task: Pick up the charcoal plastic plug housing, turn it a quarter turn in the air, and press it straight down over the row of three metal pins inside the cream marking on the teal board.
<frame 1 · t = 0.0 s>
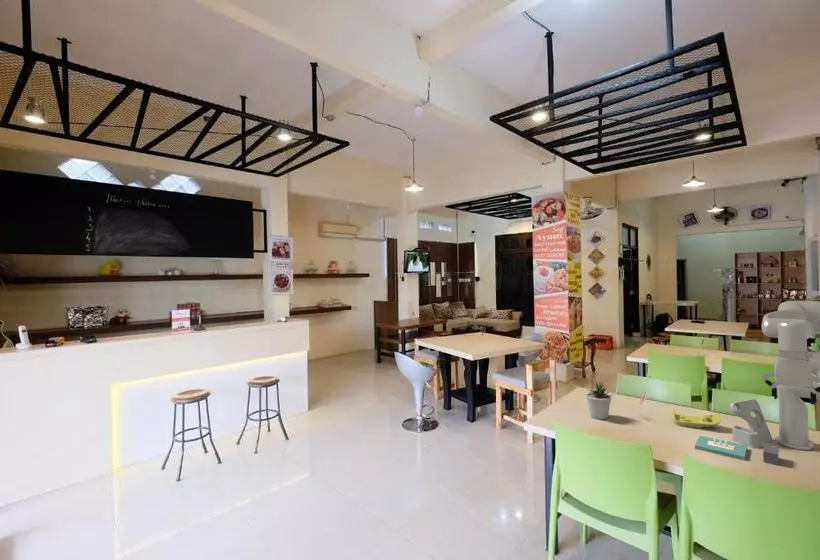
hand: (793, 401, 143), 31 cm above the table, tool pointing down, fingers open, 9 cm apart
plug housing: (771, 460, 162), on the table
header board: (720, 448, 174), on the table
potted plant: (600, 417, 216), on the table
plastic component: (696, 426, 200), on the table
phone holder: (754, 442, 180), on the table, touching arm
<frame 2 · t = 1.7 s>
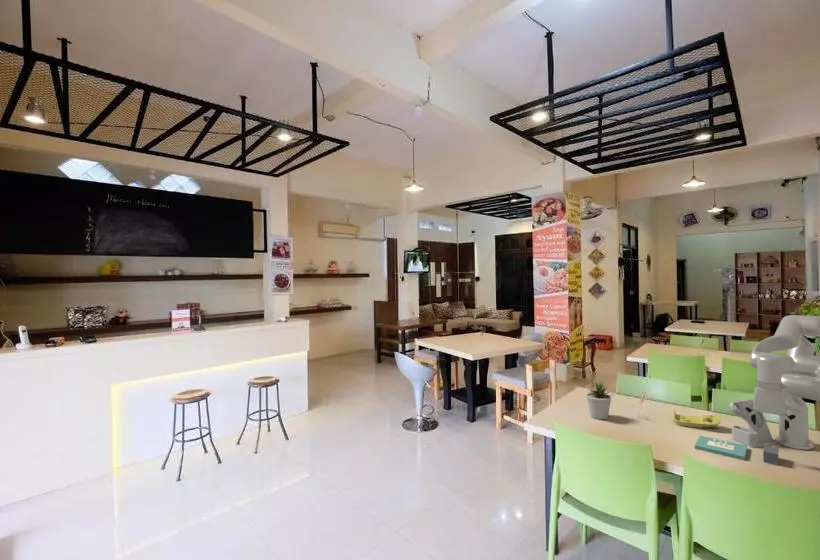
hand: (769, 426, 162), 14 cm above the table, tool pointing down, fingers open, 9 cm apart
nothing on the table moved.
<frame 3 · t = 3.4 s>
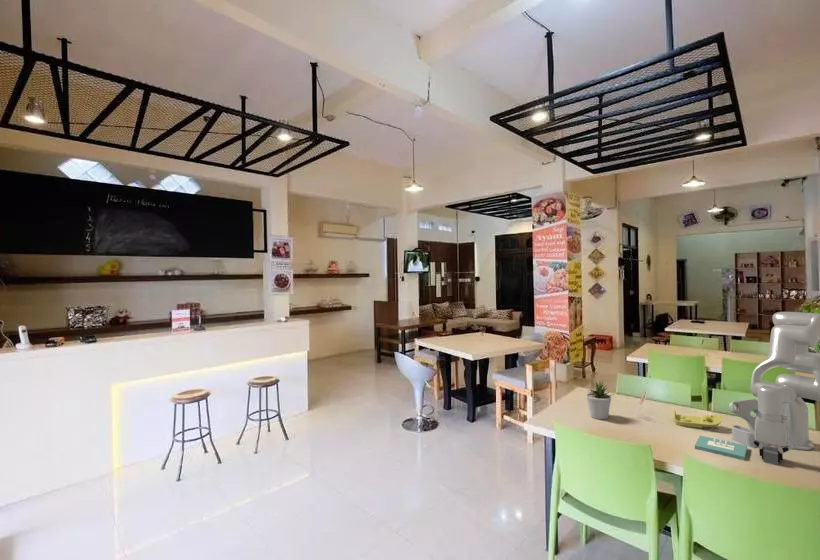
hand: (771, 459, 162), 0 cm above the table, tool pointing down, fingers closed on plug housing, 4 cm apart
plug housing: (771, 460, 162), on the table, touching gripper
everything else where it was.
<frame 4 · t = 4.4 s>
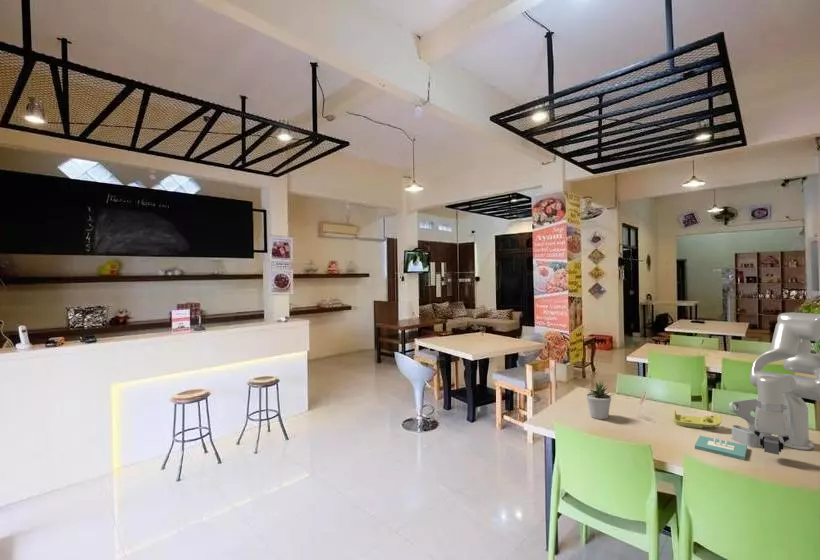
hand: (771, 448, 163), 5 cm above the table, tool pointing down, fingers closed on plug housing, 4 cm apart
plug housing: (771, 449, 163), point 4 cm above the table, touching gripper
everything else where it was.
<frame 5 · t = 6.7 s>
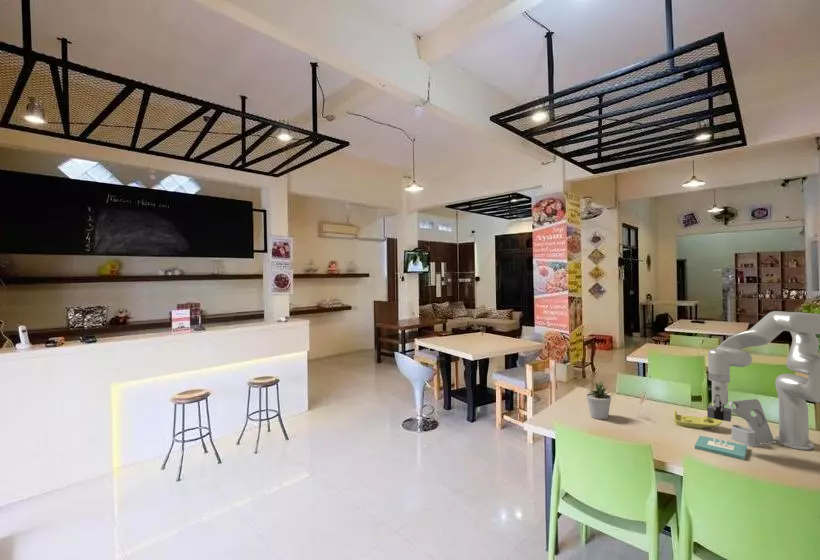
hand: (719, 417, 174), 14 cm above the table, tool pointing down, fingers closed on plug housing, 4 cm apart
plug housing: (719, 418, 174), point 14 cm above the table, touching gripper
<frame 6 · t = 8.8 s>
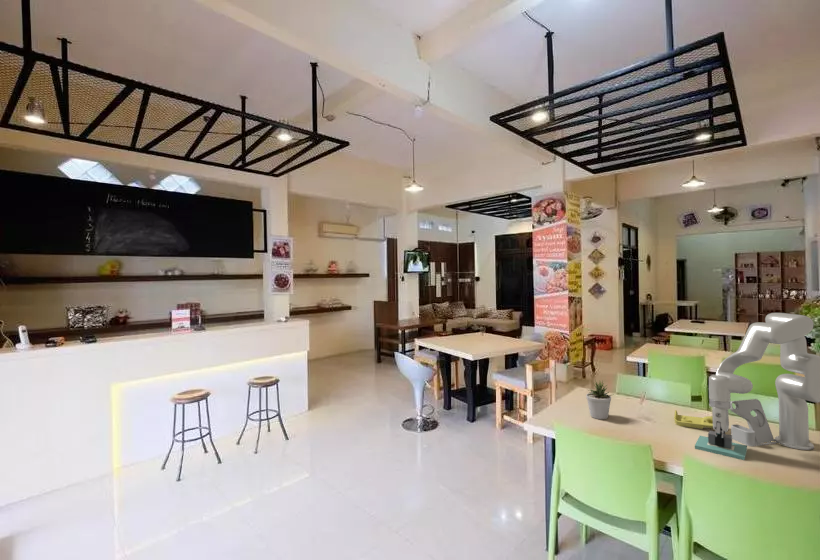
hand: (720, 443, 174), 2 cm above the table, tool pointing down, fingers closed on plug housing, 4 cm apart
plug housing: (720, 444, 174), point 2 cm above the table, touching gripper
when the fingers open (2 cm above the table, at t = 9.9 s): plug housing stays where it is, resting on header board.
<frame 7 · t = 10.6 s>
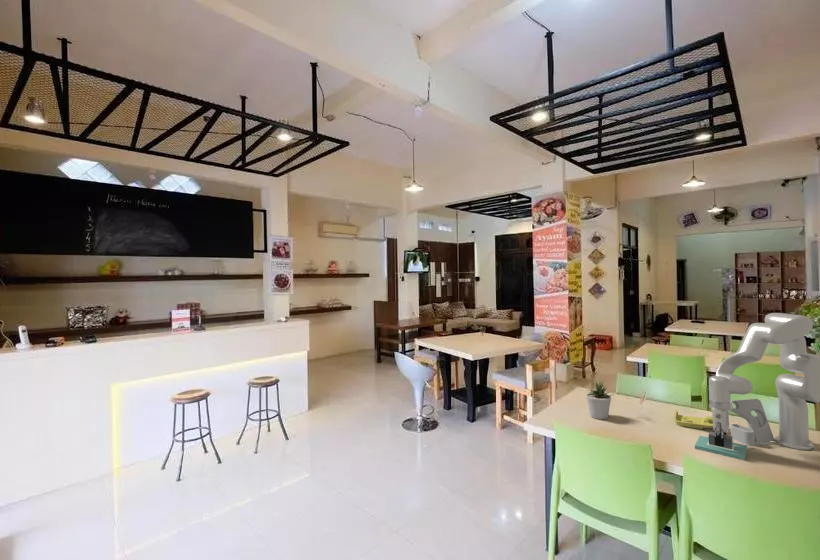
hand: (720, 442, 174), 3 cm above the table, tool pointing down, fingers open, 9 cm apart
plug housing: (720, 445, 174), point 2 cm above the table, touching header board
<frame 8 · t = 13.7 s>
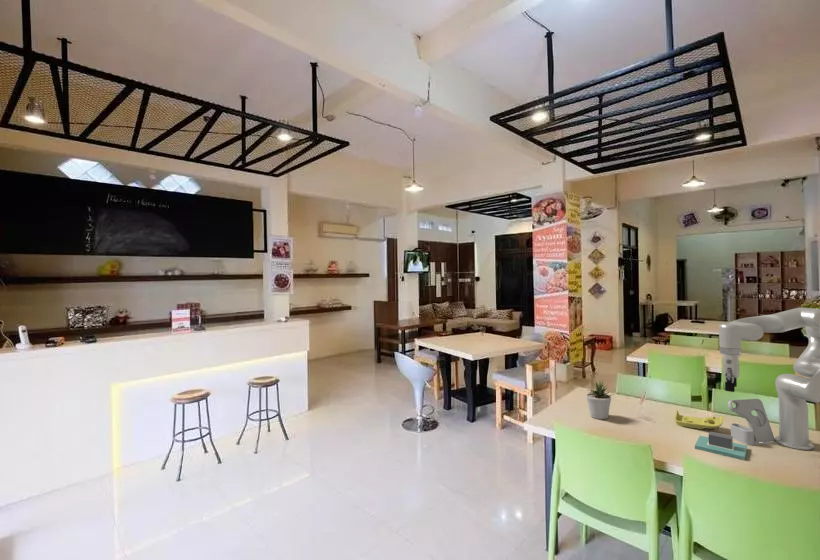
hand: (731, 388, 175), 26 cm above the table, tool pointing down, fingers open, 9 cm apart
at the end: plug housing 0.1 cm off-centre on the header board, point 1.6 cm above the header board's base; plug housing tilted 0°; the gripper is holding nothing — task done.
